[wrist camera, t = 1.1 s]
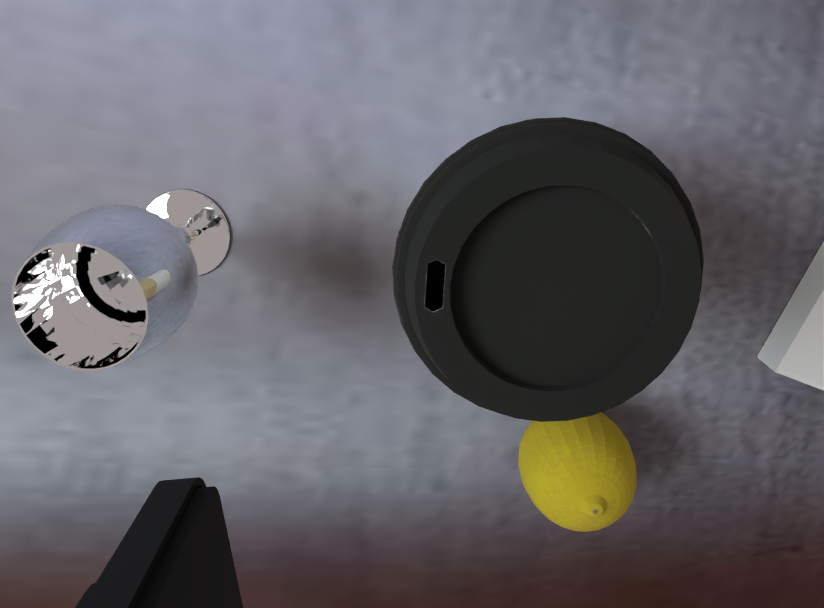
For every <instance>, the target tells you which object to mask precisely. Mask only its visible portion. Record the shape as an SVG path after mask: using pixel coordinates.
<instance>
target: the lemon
mask: <svg viewBox="0 0 824 608" xmlns="http://www.w3.org/2000/svg"><path fill="white" fill-rule="evenodd" d="M519 469H520V473H521V478H522V482H523V485H524V487H525V489H526V491H527V493H528V494H529V496H530V498H531V500H532V501H533V503H534V504H535V506H536V507H537V508H538V509H539V510H540V511H541V512H542V513H543V514H544V515H545V516H546V517H547V518H548V519H549V520H551V521H553V522H554V523H556V524H558V525H559V526H561V527H564V528H567V529H571V530H574V531H584V532H588V531H594V530H599V529H602V528H605V527H607V526H609V525H611V524H612V523H614V522H615V521H617V520H618V519H619V518H620V517H621V516H622V515H623V514H624V513H625V512H626V511H627V509H628V507H629V505H630V504H631V502H632V500H633V497H634V493H635V489H636V464H635V459H634V456H633V453H632V450H631V447H630V444H629V442H628V440H627V439H626V437H625V436H624V434H623V433H622V431H621V430H620V428H619V427H618V426H617V425H616V424H615V423H614V422H613V421H612V420H611V419H609V418H608V417H607V416H606V415H605V414H603V413H602V412H600V413H598V414H596V415H592V416H588V417H583V418H578V419H574V420H569V421H549V422H539V421H532V422H531V423H530V425H529V426H528V428H527V429H526V430H525V432H524V435H523V438H522V440H521V443H520V448H519Z"/></svg>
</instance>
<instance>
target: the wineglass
mask: <svg viewBox="0 0 824 608" xmlns="http://www.w3.org/2000/svg"><path fill="white" fill-rule="evenodd" d="M229 245H230V229H229V225H228V222H227V219H226V217H225V215H224V213H223V212H222V210H221V209H220V208H219V206H218V205H217V204H216V203H215V202H214V201H212V200H211V199H210V198H209V197H207V196H205V195H203V194H201V193H198V192H196V191H192V190H186V189H177V190H171V191H168V192H165V193H162V194H161V195H159V196H157V197H156V198H154V199H153V200H152V202H151V203H150V204H149V205H148V206H147V208H146V210H145V209H142V208H139V207H135V206H128V205H109V206H101V207H96V208H92V209H89V210H86V211H83V212H80V213H78V214H76V215H74V216H72V217H70V218H69V219H67V220H66V221H64V222H63V223H61V224H60V225H58V226H57V227H55V228H54V229H53V230H52V231H51V232H50V233H49V234H48V235H47V236H46V237H44V238H43V239H42V240H41V241H40V242H39V243H38V244H37V246H36V247H35V248H34V249H33V251H32V252H31V253H30V255H29V256H28V257H27V259H26V260H25V261H24V262H23V264H22V265H21V267H20V269H19V270H18V272H17V275H16V277H15V280H14V283H13V288H12V297H11V300H12V306H13V313H14V316H15V319H16V321H17V324H18V326H19V329H20V330H21V332H22V333H23V335H24V336H25V338H26V339H27V341H28V342H29V343H30V344H31V345H32V346H33V347H34V348H35V349H36V350H37V351H38V352H39V353H40V354H42V355H44V356H45V357H47V358H48V359H50V360H51V361H53V362H55V363H57V364H59V365H61V366H64V367H67V368H70V369H75V370H82V371H96V370H103V369H107V368H111V367H114V366H118V365H121V364H123V363H126V362H129V361H131V360H134V359H136V358H138V357H140V356H142V355H144V354H146V353H148V352H149V351H151V350H153V349H155V348H156V347H158V346H159V345H161V344H163V343H164V342H165V341H167V340H168V339H169V338H170V337H171V336H172V335H173V334H174V333H175V332H176V331H177V330H178V329H179V328H180V327H181V326H182V324H183V323H184V322H185V320H186V318H187V317H188V315H189V313H190V311H191V309H192V307H193V304H194V301H195V299H196V296H197V290H198V276H199V275H203V274H206V273H208V272H210V271H212V270H213V269H215V268H216V267H217V266H218V265H219V264H220V263H221V262H222V261H223V259H224V258H225V256H226V254H227V252H228V249H229Z"/></svg>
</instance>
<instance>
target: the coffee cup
mask: <svg viewBox="0 0 824 608" xmlns="http://www.w3.org/2000/svg"><path fill="white" fill-rule="evenodd" d="M392 270H393V289H394V298H395V302H396V306H397V310H398V314H399V318H400V321H401V324H402V326H403V328H404V330H405V332H406V334H407V336H408V338H409V340H410V342H411V344H412V347H413V349H414V350H415V352H416V353H417V355H418V356H419V357H420V358H421V360H422V361H423V362H424V363H425V365H426V366H427V367H428V369H429V370H430V371H431V372H432V374H433V375H434V376H436V377H437V378H438V379H439V380H440V381H441V382H443V383H444V384H445V385H446V386H447V387H448V388H450V389H451V390H452V391H453V392H455V393H456V394H458V395H460V396H462V397H463V398H465V399H467V400H469V401H471V402H472V403H474V404H476V405H478V406H480V407H483V408H486V409H489V410H492V411H495V412H497V413H500V414H503V415H508V416H511V417H514V418H518V419H525V420H532V421H539V422H549V421H569V420H574V419H578V418H583V417H588V416H592V415H596V414H598V413H600V412H603V411H605V410H608V409H610V408H613V407H615V406H618V405H620V404H621V403H623V402H625V401H626V400H628V399H629V398H631V397H633V396H634V395H636V394H637V393H639V392H641V391H642V390H643V389H644V388H646V387H647V386H648V385H649V384H650V383H651V382H652V381H653V380H654V379H656V378H657V377H658V376H659V375H660V374H661V373H662V372H663V371H664V370H665V368H666V367H667V366H668V364H669V363H670V362H671V361H672V359H673V358H674V357H675V355H676V354H677V353H678V352H679V350H680V348H681V346H682V344H683V342H684V340H685V338H686V336H687V335H688V333H689V331H690V329H691V327H692V323H693V320H694V317H695V313H696V310H697V306H698V303H699V297H700V291H701V284H702V272H703V252H702V243H701V235H700V229H699V226H698V223H697V220H696V217H695V214H694V211H693V209H692V206H691V203H690V201H689V199H688V198H687V196H686V194H685V193H684V191H683V189H682V188H681V186H680V184H679V183H678V181H677V180H676V178H675V176H674V175H673V174H672V172H671V171H670V170H669V169H668V168H667V167H666V166H665V165H664V164H663V163H662V162H661V161H660V160H659V159H658V158H657V157H656V156H655V155H654V154H653V153H652V152H651V151H650V150H649V149H647V148H646V147H644V146H643V145H641V144H640V143H638V142H637V141H635V140H634V139H632V138H631V137H629V136H628V135H626V134H624V133H622V132H619V131H616V130H614V129H611V128H609V127H606V126H604V125H601V124H598V123H596V122H590V121H584V120H577V119H571V118H565V117H562V118H538V119H529V120H525V121H521V122H517V123H513V124H509V125H505V126H501V127H499V128H497V129H494V130H492V131H490V132H488V133H486V134H484V135H482V136H479V137H477V138H475V139H473V140H471V141H470V142H468V143H467V144H466V145H464V146H463V147H461V148H460V149H459V150H457V151H456V152H455V153H453V154H452V155H450V156H449V157H448V158H446V159H445V160H444V161H443V162H442V163H441V164H440V166H439V167H438V168H437V169H436V170H435V171H434V172H433V173H432V174H431V175H430V176H429V177H428V179H427V180H426V181H425V182H424V183H423V185H422V186H421V188H420V189H419V191H418V193H417V194H416V196H415V198H414V199H413V201H412V203H411V204H410V206H409V207H408V209H407V212H406V214H405V217H404V220H403V222H402V225H401V228H400V231H399V233H398V236H397V240H396V247H395V253H394V260H393V266H392Z"/></svg>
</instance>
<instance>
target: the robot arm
mask: <svg viewBox="0 0 824 608" xmlns="http://www.w3.org/2000/svg"><path fill="white" fill-rule="evenodd" d="M76 608H243V605H242V600H241V596H240V591H239V586H238V581H237V577H236V572H235V567H234V562H233V557H232V553H231V548H230V543H229V538H228V534H227V529H226V524H225V519H224V514H223V510H222V505H221V500H220V496H219V492H218V490H217V488H216V487H206V485H205V483H204V481H203V479H201V478H200V477H199V478H187V479H175V480H164V481H159V482H158V483H157V484H156V486H155V487H154V489H153V491H152V492H151V494H150V495H149V497H148V499H147V500H146V502H145V504H144V505H143V507H142V509H141V510H140V512H139V513H138V515H137V517H136V518H135V520H134V522H133V523H132V525H131V527H130V528H129V530H128V531H127V533H126V535H125V536H124V538H123V540H122V541H121V543H120V545H119V546H118V548H117V549H116V551H115V553H114V554H113V556H112V558H111V559H110V561H109V563H108V564H107V566H106V567H105V569H104V571H103V572H102V574H101V576H100V577H99V579H98V581H97V582H96V583H94V584H92V585H91V586H90V587H89V588H88V590H87V591H86V592H85V593H84V595H83V596H82V598H81V600H80V601H79V603H78V604H77V606H76Z"/></svg>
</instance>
